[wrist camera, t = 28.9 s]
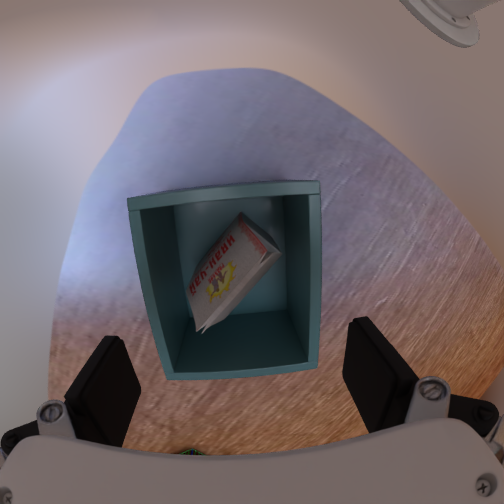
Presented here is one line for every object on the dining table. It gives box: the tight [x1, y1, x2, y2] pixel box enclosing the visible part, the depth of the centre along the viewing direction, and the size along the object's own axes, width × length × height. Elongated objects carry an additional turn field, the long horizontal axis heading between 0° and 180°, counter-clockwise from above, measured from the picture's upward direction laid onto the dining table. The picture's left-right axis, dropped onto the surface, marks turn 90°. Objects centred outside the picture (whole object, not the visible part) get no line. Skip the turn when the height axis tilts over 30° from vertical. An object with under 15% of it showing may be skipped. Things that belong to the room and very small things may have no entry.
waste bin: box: [127, 180, 322, 380], centre depth 22 cm, size 14×12×10 cm
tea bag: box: [186, 212, 282, 333], centre depth 21 cm, size 4×7×10 cm, turn 140°
